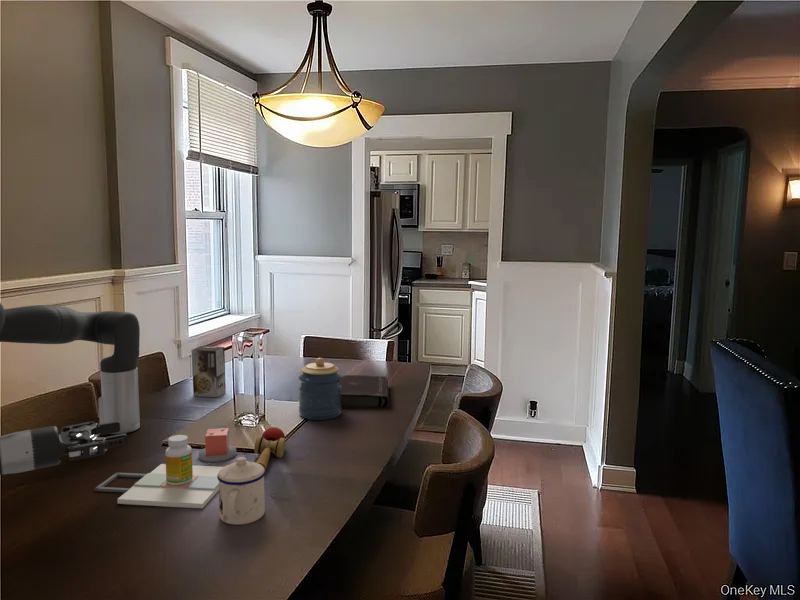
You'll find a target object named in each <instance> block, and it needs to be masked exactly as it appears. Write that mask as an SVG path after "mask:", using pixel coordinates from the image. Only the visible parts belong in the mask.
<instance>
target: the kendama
mask: <svg viewBox="0 0 800 600" xmlns="http://www.w3.org/2000/svg"><path fill="white" fill-rule="evenodd" d="M285 435H286V434H285V433H284V431H283V430H282V429H281V428H280V427H278V426H277V427H276V426H271V427H269V428H267V429H265V430H264V431H263V432H262V434H261V435H258V436H256V439H255V443H254V447H253V448H254V450H253V451H254V452H253V453H254V454H257V455H259V457H258V458H257V460H256V462H255V463H258V464H260V465H262V466H263V467H264V470H265V472H266V471H267V468H268V467H267V466H268V463H269V460H270V456H271V453H272V454H273V455H275V457H276V458H279V459H281V458H282V457H283V456H284V452H285V448H286V442H287V441H286V436H285Z"/></svg>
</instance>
